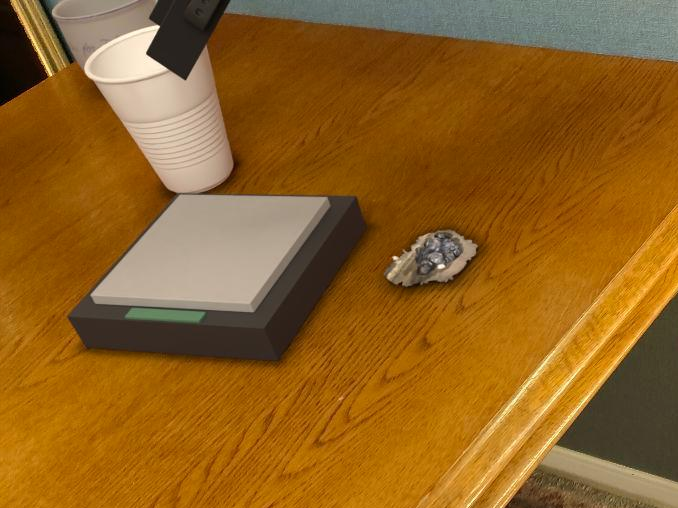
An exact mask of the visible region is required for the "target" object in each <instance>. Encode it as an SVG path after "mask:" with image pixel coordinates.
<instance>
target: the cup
mask: <svg viewBox="0 0 678 508" xmlns="http://www.w3.org/2000/svg"><path fill="white" fill-rule="evenodd" d="M159 27H160V26H158V25H155V26H151V27H146V28H143V29H139V30H136V31H133V32H130V33H128V34H125V35H123V36H120V37H118V38H116V39H114V40H112V41H110V42H108V43H107V44H105V45H103V46H102V47H100V48H99V49H98V50H96V51H95V52H94V53H93V54H92V55H91V56H90V57H89V58H88V60H87V61H86V63H85V67H84V70H85V72H84V74H85V76H87V77H88V79H90V80H92V81H93V82H94V84H95V85H96V87H97V88H98V90H99V92H100V93H101V94H102V96H103V97H104V98H105V100H106V102H107V103H108V105H109V106H110V107H111V109H112V110H113V112H114V114H115V115H116V116H117V117H118V119H119V120H120V121H121V123H122V125H123V127H125V129H126V130H127V132H128V133H129V135H130V137H131V138H132V139H133V141H134V142H135V143H136V146H137V147H138V148H139V149H140V151H141V153H142V154H143V155H144V157H145V158H146V159H147V161H148V163H149V164H150V165H151V167H152V169H153V170H154V172H155V173H156V175H157V177H158V178H159V179H160V180H161V182H162V183H163V185H164V187H166V189H167V190H169V191H171V192H173V193H175V194H177V193H204V192H208V191H209V190H212V189H215V187H219V186H220V185H221V184H222V183H224V182H225V181H226V180H227V179H228V178H229V177H230V175H231V173H232V171H233V168H234V159H233V155H232V151H231V146H230V142H229V139H228V134H227V129H226V125H225V122H224V117H223V112H222V110H221V108H222V107H221V105H220V99H219V94H218V92H217V86H216V80H215V76H214V71H213V67H212V63H211V59H210V53H209V50H208V46H207V45H208V44H206V46H205V47H204V49H203V51H202V53H201V55H200V56H199V58H198V60H197V62H196V63H195V65H194V67H193V69H192V71H191V72H190V74H189V76H188V78H187V80H186V81H185V80H183V79H182V78H180V77H179V76H177V75H176V74H174V73H173V72H171V71H170V70H168V69H167V68H165V67H164V66H162V65H161V64H159V63H158V62H156V61H155V60H153V59H152V58H150V57H149V56H147V55H146V51H147V50H148V48H149V46H150V44H151V42H152V40H153V38H154V37H155V35H156V33H157V31H158V29H159Z"/></svg>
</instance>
